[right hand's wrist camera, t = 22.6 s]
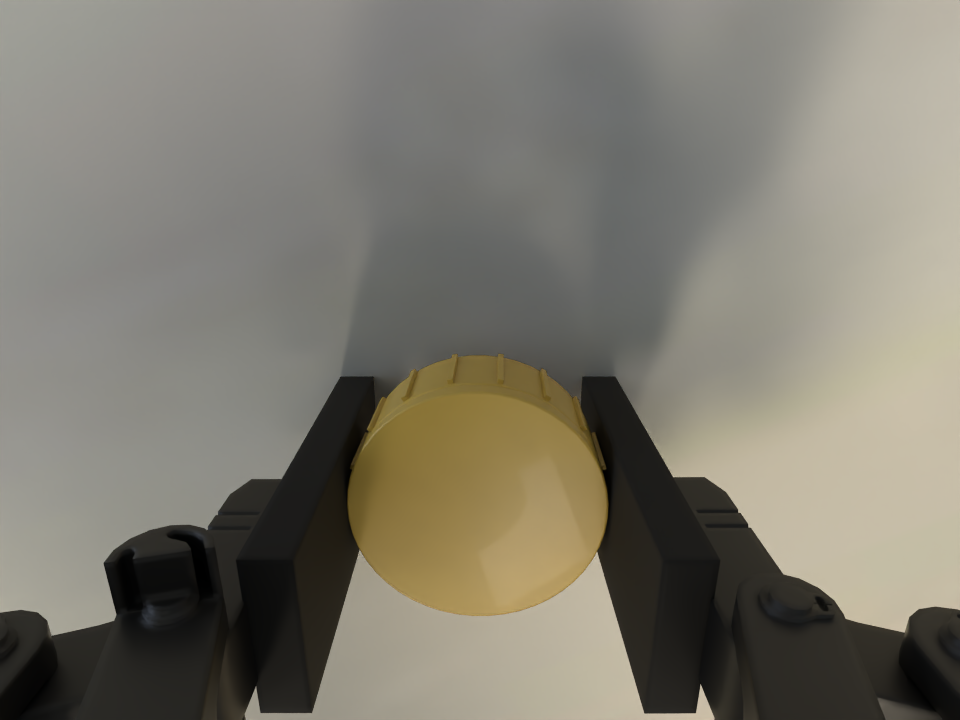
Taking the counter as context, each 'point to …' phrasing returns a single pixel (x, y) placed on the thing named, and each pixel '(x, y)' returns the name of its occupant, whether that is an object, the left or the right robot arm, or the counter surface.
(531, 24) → the counter surface
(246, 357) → the counter surface
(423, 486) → the lid
